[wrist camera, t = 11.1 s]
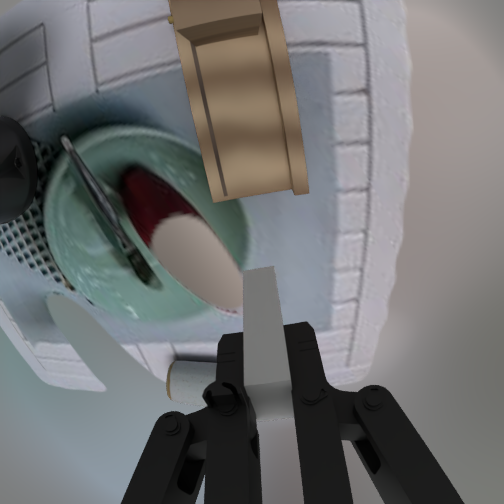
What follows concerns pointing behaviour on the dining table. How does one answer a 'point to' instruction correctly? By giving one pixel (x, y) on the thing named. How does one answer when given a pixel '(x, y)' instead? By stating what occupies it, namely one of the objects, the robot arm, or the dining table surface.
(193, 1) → the brown wooden block
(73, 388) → the dining table surface
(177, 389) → the ceramic mug
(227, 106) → the brown wooden tray
